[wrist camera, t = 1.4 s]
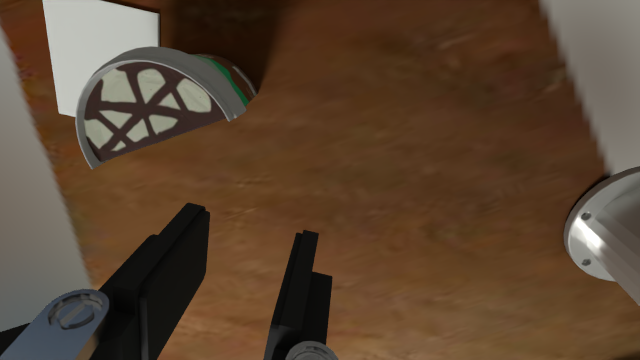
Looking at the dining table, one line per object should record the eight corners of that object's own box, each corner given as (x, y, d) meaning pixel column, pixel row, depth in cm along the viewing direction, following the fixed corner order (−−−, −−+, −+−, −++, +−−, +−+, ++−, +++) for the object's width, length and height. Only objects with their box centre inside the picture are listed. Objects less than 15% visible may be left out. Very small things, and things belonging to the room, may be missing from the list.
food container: (243, 15, 28) (190, 17, 19) (273, 87, 30) (237, 118, 21) (124, 67, 31) (28, 88, 22) (159, 129, 33) (86, 171, 24)
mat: (159, 14, 29) (157, 14, 28) (160, 135, 34) (158, 136, 33) (43, -14, 29) (40, -14, 28) (61, 112, 34) (59, 113, 33)
